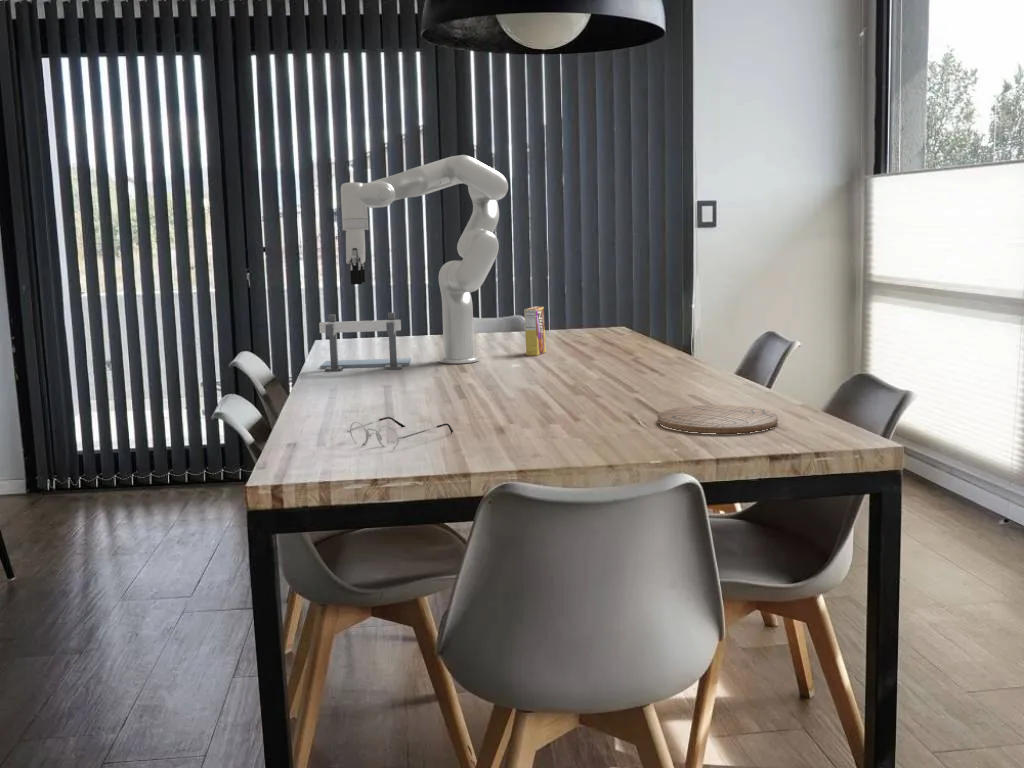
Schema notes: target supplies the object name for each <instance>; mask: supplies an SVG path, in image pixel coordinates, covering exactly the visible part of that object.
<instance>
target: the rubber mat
mask: <svg viewBox="0 0 1024 768" xmlns="http://www.w3.org/2000/svg"><path fill="white" fill-rule="evenodd" d="M411 362H412V358H411V357H401V358H398V357H397V364H402V367H409V366H410V365H411ZM386 364H390V358H372V359H370V358H369V359H345V360H344V359H341V360H340V359H338V366H344V369H357V368H358V369H359V368H385V365H386ZM327 366H331V360H325V361H324V362H323V363H322V364H321V366H320V368H321V370H325V368H326V367H327Z"/></svg>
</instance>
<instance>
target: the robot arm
mask: <svg viewBox="0 0 1024 768" xmlns="http://www.w3.org/2000/svg"><path fill="white" fill-rule="evenodd" d="M460 184H464V185H466V186H467V189H468V191H467V192H468V194H469V196H470V199H471V201H472V206H473V207H472V213H471V215H470V218H469V220H468V221H467V224H466V226H465V228H464V230H463V231H462V233H461V236H459V240H458V242H457V246H456V249H457V253H458V255H459V256H460V257H461V258H462V259H461V260H450V261H447V262H445V263H444V264H443V265H442V266H441V268H440V270H439V273H438V284H439V289H440V296H441V307H442V308H441V309H442V311H441V312H442V313H441V315H442V337H443V356H442V357H439V360H438V361H439V362H440V363H441V364H442V363H443V364H452V365H453V364H454V365H455V364H468V363H469V364H470V363H471V364H472V363H477V362H479V361H480V356H478V355H475V344H474V343H475V340H474V339H475V338H474V313H473V312H474V310H473V308H474V306H473V300H472V294H471V293H473V292H476V291H478V289H479V288H480V287H482V285H483V284H484V282H485V280H486V278H487V276H488V274H489V272H490V271H491V269H492V267H493V264H494V263H495V262H496V261H495V260H496V258H497V256H498V253H499V249H500V247H499V246H500V245H499V240H498V238H497V235H496V234H494V233H495V230H496V228H497V226H498V224H499V219H500V209H499V203H498V201H499V200H502V199H503V198H505V197H506V195H507V193H508V190H509V183H508V180H507V178H506V177H505V175H504V174H502V172H499V171H498V170H496V169H494V168H492V167H491V166H488V165H487V164H485V163H483V162H481V161H480V160H478V159H476V158H474V157H472V156H470V155H466V154H460V155H451V156H449V157H446V158H442V159H439V160H436V161H433V162H428V163H427V164H426V163H425V164H423V165H419V166H416V167H413V168H409V169H407V170H405V171H402V172H399V173H396V174H392V175H390V176H386V177H382V178H379V179H376V180H373V181H370V182H365V183H364V182H358V181H357V182H356V181H355V182H354V181H353V182H345V183H341V186H340V200H341V201H340V203H341V222H342V231H345V255H346V256H345V257H346V258H345V261H346V264H347V265H350V271H349V273H350V285H354V286H355V285H362V284H363V283H365V282H366V272H365V271H366V269H365V265H364V263H365V262H366V236H365V235H366V234H365V230H366V231H369V214H368V212H369V211H368V208H371V209H373V208H374V209H375V208H386V207H389V206H390V205H391V204H392V203H393V202H395V201H397V200H403V199H407V198H416V197H420V196H425V195H428V194H431V193H435V192H437V191H440V190H443V189H446V188H450V187H452V186H457V185H460Z"/></svg>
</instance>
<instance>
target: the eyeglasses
mask: <svg viewBox="0 0 1024 768" xmlns="http://www.w3.org/2000/svg"><path fill="white" fill-rule="evenodd" d="M388 419H389V420H391V421H393V422H394V423H395V424H397V425H398V426H400V428H406V425H405V424H403V423H401V422H400V421H397V420H396V419H394V417H391V416H387V417H382V418H379V419H377V420H375V421H370V422H368V423H364V424H362V423H361V422H360V421H354V422H352V423H351V424H350V426H349V429H347V430H346V432H347V433H349V435H350V437H351V439H352V440H353V443H355V444H358V442H357V441H356V439H355V438H354V436H353V434H352V431H354V430H358V429H360V428H363V429H364V432H365V441H364V442H363V443H362V445H364V444H365V445H367V444H368V443H369V440H371V437H372V434H373V433H372V432H371V433H370V432H369V431H375V436H376V439H377V441H378V443H379V444H380V446H381V447H382V448H387V446H386V445H385V444H384V443H383V442H382V440H383V439H382V438H383V437H382V434H381V433H380V432H381V430H382V428H384V427H389V428H390V429H392V430H393V431H394V432H395V434H396V436H397V437H396V438H397V441H396V445H395V446H394V447H392V448H393V449H394V448H396V447H397V446H398V444H399V440H401V439H402V440H403V439H406V438H409V437H412V436H415V435H419V434H422V433H425V432H427V431H430V430H433V429H437V428H441V427H445V426H447V427H448V429H449V431H450V434H453V433H454V430H453V428H452V426H451V425H450V424H449V423H442V424H439V425H435V426H434V427H431V428H427V429H424V430H423V429H422V430H421V431H417V432H413V433H410V434H407V435H406V434H405V435H404V436H400V435H399V433H398V431H397V430H396V429H395V428H394V427H393V426H391V425H386V424H385V425H383V426H381V427H380V428H379V429H374V428H366V426H368V425H372V424H373V423H376V422H381V421H384V420H388ZM356 423H357V424H359V426H356V427H353V425H354V424H356ZM352 427H353V428H352ZM452 432H453V433H452Z"/></svg>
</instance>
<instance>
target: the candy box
mask: <svg viewBox="0 0 1024 768" xmlns="http://www.w3.org/2000/svg"><path fill="white" fill-rule="evenodd" d="M523 311H524V313H523V314H524V331H525V333H524V334H525V354H526V356H527V357H529V356H530V357H532V356H533V357H534V356H540V355H542V354H545V353H546V352H547V348H546V347H547V344H546V343H547V342H546V330H545V329H546V327H545V307H544V306H532V307H528V308H525V309H524V310H523Z"/></svg>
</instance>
